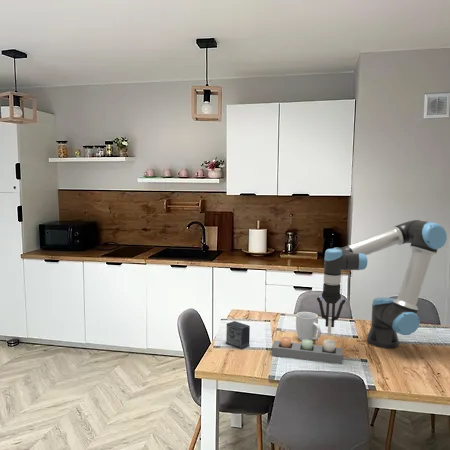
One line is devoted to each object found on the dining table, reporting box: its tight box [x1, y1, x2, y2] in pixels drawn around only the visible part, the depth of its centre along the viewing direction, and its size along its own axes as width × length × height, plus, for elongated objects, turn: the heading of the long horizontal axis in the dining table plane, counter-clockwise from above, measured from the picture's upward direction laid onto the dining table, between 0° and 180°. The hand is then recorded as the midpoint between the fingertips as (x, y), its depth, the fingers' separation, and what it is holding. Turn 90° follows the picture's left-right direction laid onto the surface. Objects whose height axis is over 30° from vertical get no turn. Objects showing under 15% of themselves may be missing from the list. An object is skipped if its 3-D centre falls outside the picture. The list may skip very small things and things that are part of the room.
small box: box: [225, 320, 251, 350], centre depth 214 cm, size 11×6×10 cm, turn 47°
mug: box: [295, 311, 322, 342], centre depth 221 cm, size 15×11×13 cm
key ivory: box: [323, 338, 336, 352], centre depth 199 cm, size 5×5×4 cm
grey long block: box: [270, 340, 343, 365], centre depth 202 cm, size 32×9×4 cm, turn 75°
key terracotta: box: [279, 336, 292, 348], centre depth 204 cm, size 5×5×4 cm
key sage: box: [301, 339, 314, 351], centre depth 202 cm, size 5×5×4 cm
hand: (329, 333), depth 199 cm, fingers closed
